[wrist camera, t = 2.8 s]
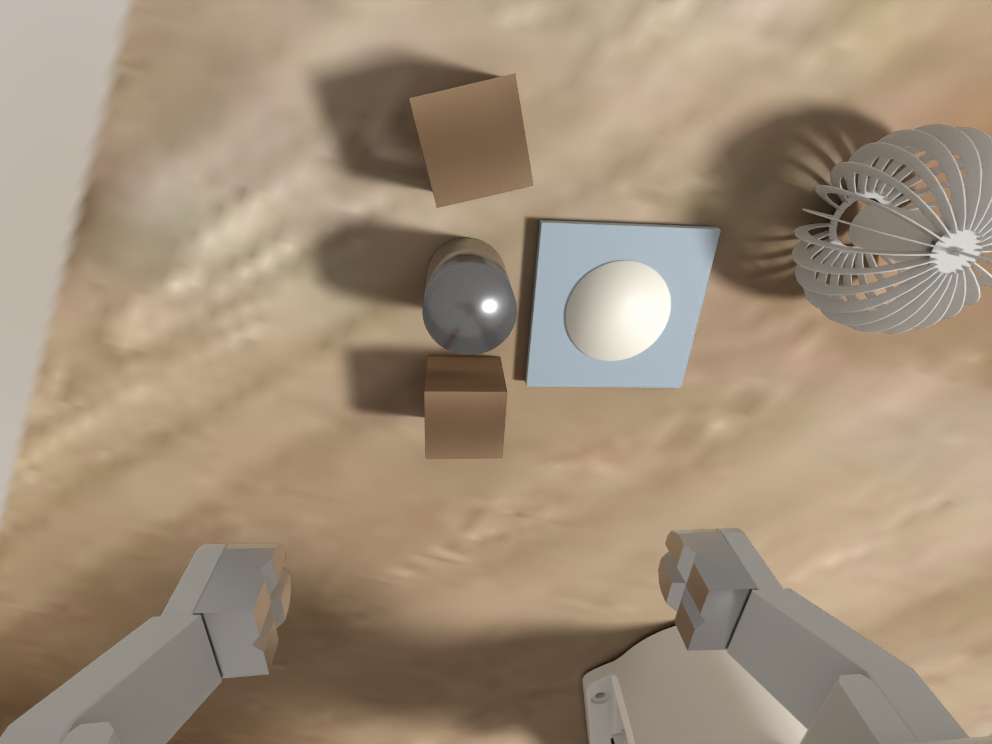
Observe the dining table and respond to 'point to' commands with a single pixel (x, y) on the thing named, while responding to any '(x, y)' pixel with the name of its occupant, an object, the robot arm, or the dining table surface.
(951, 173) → the pendant light
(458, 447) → the walnut cube
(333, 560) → the dining table surface
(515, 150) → the walnut cube
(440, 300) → the metal cylinder
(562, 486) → the dining table surface
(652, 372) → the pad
